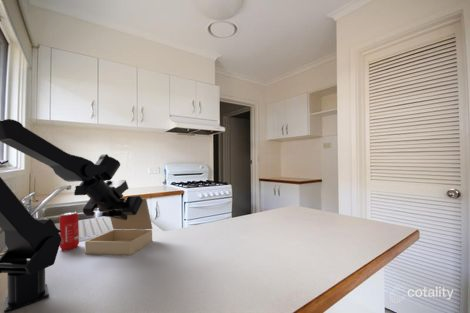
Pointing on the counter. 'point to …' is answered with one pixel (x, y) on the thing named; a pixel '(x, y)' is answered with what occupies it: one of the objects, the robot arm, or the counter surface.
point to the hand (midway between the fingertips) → (126, 218)
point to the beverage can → (69, 231)
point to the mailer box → (118, 242)
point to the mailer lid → (135, 219)
